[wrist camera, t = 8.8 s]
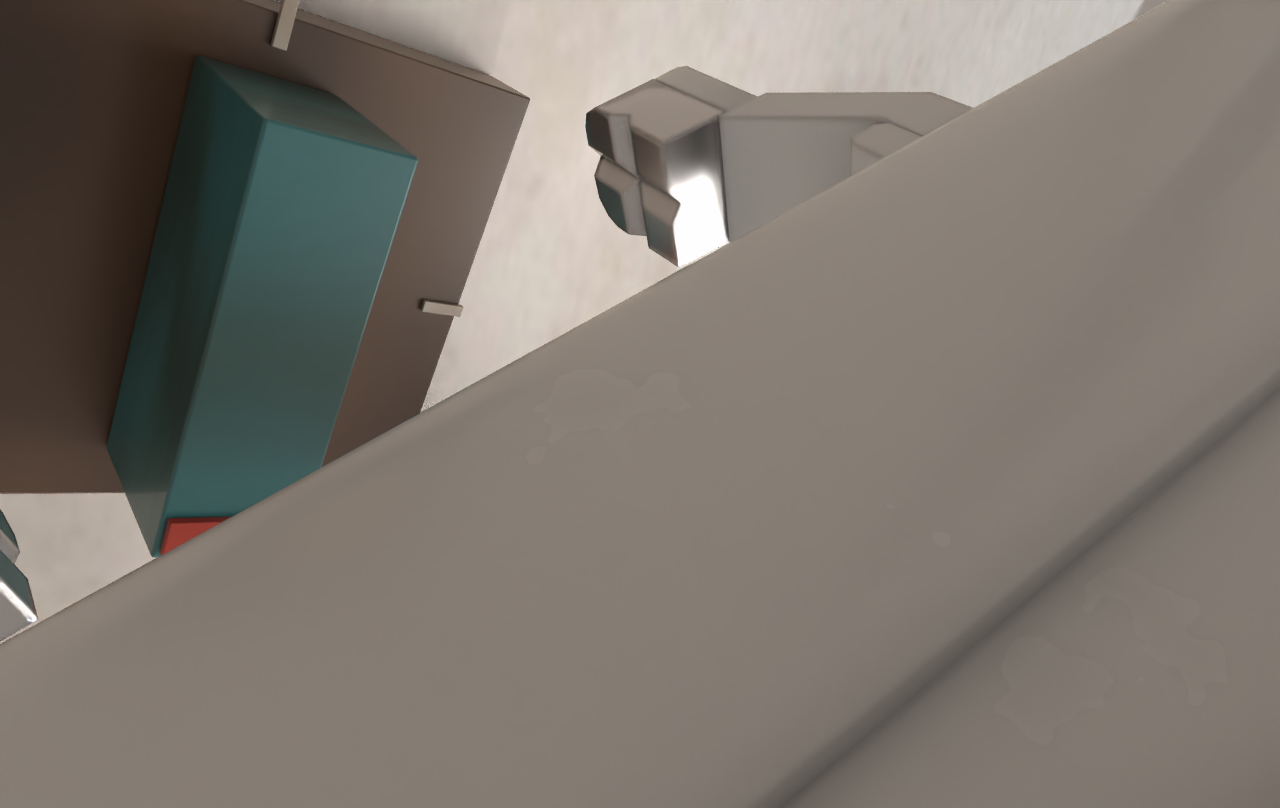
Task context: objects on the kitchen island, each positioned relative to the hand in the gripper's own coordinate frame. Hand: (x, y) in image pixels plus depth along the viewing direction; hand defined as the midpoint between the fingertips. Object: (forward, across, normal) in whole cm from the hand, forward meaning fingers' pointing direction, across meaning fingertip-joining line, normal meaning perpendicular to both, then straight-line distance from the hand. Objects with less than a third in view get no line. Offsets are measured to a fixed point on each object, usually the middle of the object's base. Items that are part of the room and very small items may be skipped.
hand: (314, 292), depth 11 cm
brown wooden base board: (+17, 0, +7) cm, 18 cm away
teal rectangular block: (+15, 0, +7) cm, 16 cm away
